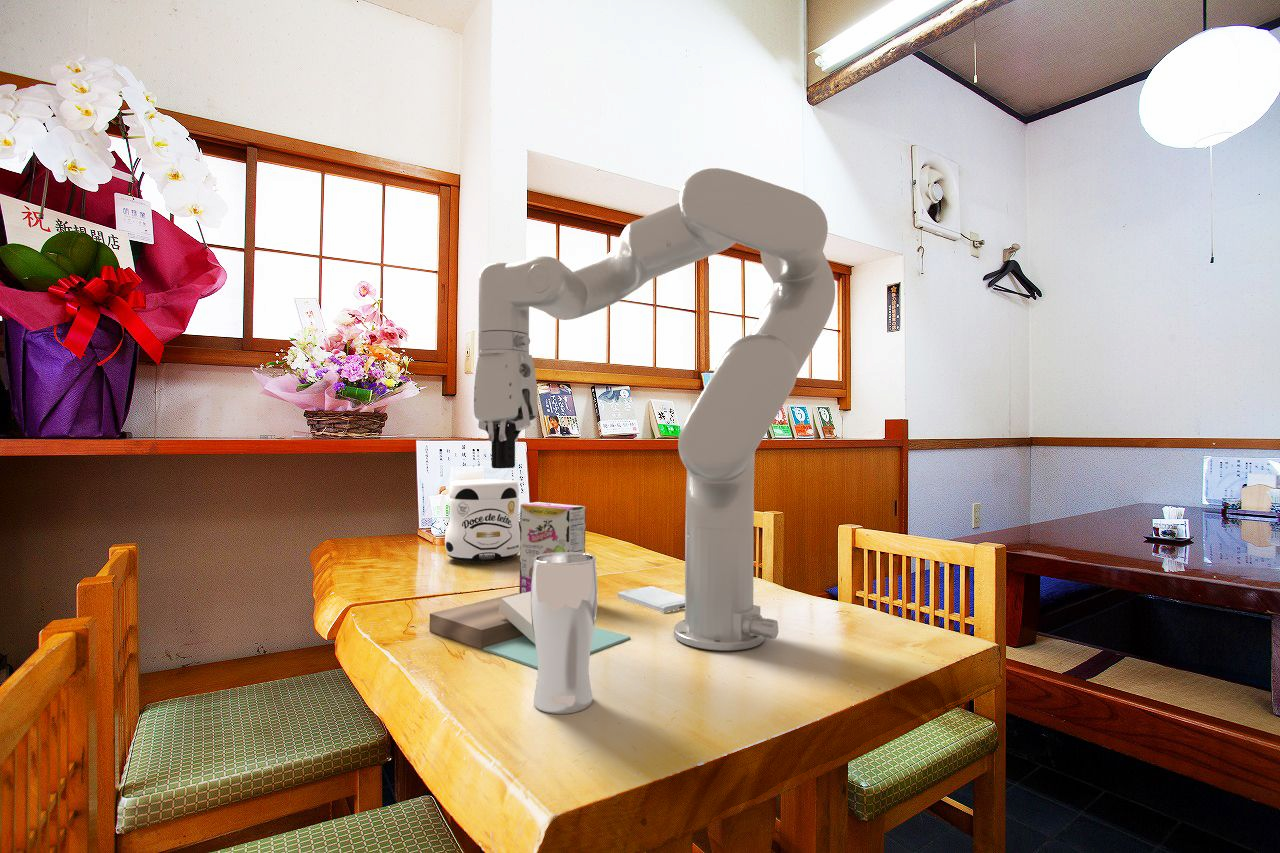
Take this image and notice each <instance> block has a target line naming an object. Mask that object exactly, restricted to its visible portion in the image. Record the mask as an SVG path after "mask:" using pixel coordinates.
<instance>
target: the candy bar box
mask: <svg viewBox="0 0 1280 853" xmlns="http://www.w3.org/2000/svg"><path fill="white" fill-rule="evenodd" d="M519 509H520V511H519V512H520V518H519V523H520V552H519V588H518V590H519V592H518V593H520V594H522V593H526V592H530V591H531V582H532V571H533V558H534V557H535V556H537V555H540V554H545V553H554V552H580V553H586V516H587V515H586V510H587V508H586V506H583V505H576V504H575V505H574V504H563V503H553V502H543V501H542V502H540V501H534V502H528V503H527V502H525V503H522V504H520V508H519Z"/></svg>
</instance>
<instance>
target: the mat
mask: <svg viewBox="0 0 1280 853" xmlns="http://www.w3.org/2000/svg"><path fill="white" fill-rule="evenodd" d="M630 639H631V636H629V635H626V634H622V633H618V632H615V631H611V630H607V629H603V628H599V627H596V626H595V628H594V634H593V639H592V645H591V651H590V655H591V654H593V653H597V652H599V651H601V650H604V649H607V648H609V647H612V646H615V645H617V644H620V643H623V642H625V641H628V640H630ZM482 650H483V651H485V652H487V653H491V654H493V655H496V656H499V657H502V658H505V659H508V660H511V661H514V662H515V663H516V662H517V663H518V664H522V665H524V666H527V667H530V668H534V669H536V670H538V658H537V651H536V645H535V644H534V643H533V642H532V641H531V640H530V639H529V638H528V637H527V636H525V635H524V636H521V637H517V638H514V639H511V640H508V641H504V642H501V643H498V644H495V645H491V646H488V647H485V648H484V649H482Z"/></svg>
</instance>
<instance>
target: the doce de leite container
mask: <svg viewBox="0 0 1280 853" xmlns="http://www.w3.org/2000/svg"><path fill="white" fill-rule="evenodd" d="M518 483H519V482H518V481H517V480H510V479H509V480H508V479H463V480H454V481H451V482H450V487H449V520H448V525H447V527H446V530H445V534H444V535H445V536H444V548H445V551H446V555H447V556H448V557H449V558H450V559H452V560H455V561H460V562H466V563H493V562H501V561H505V560H509V559H512V558H514V557H516V556H517V555H519V554H520V518H519V509H520V508H519V504H520V503H519V502H520V499H519V494H520V490H519V484H518Z"/></svg>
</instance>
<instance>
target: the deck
mask: <svg viewBox="0 0 1280 853" xmlns="http://www.w3.org/2000/svg"><path fill="white" fill-rule="evenodd" d="M518 594H520V593H519V592H516V593H511V594H506V595H503V596H500V597H496V598H491V599H490V598H489V599H486V600H482V601H478V602H474V603H469V604H464V605H460V606H457V607H452V608H448V609H444V610H443V609H442V610H438V611H434V612H431V613H429V632H431V633H434V634H437V635H440V636H442V637H444V638H448V639H451V640H454V641H457V642H459V643H462V644H464V645H468V646H471V647H474V648H476V649H479V650H483V649H484V648H485V647H488V646H491V645H495V644H498V643H501V642H504V641H508V640H511V639H514V638H517V637H521V636H524V634H523V633H522V632H521V631H520V630H519V629H518V628H517V627H515V626H514V625H513V624H512V623H511V622H510V621H509V620H508V619H507V618H505V617H504V616H503V615H502V614H501V613H500V612H499V611H498V610H499V606H500V602H501V599H502V598H505V597H509V596H513V595H518Z"/></svg>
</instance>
